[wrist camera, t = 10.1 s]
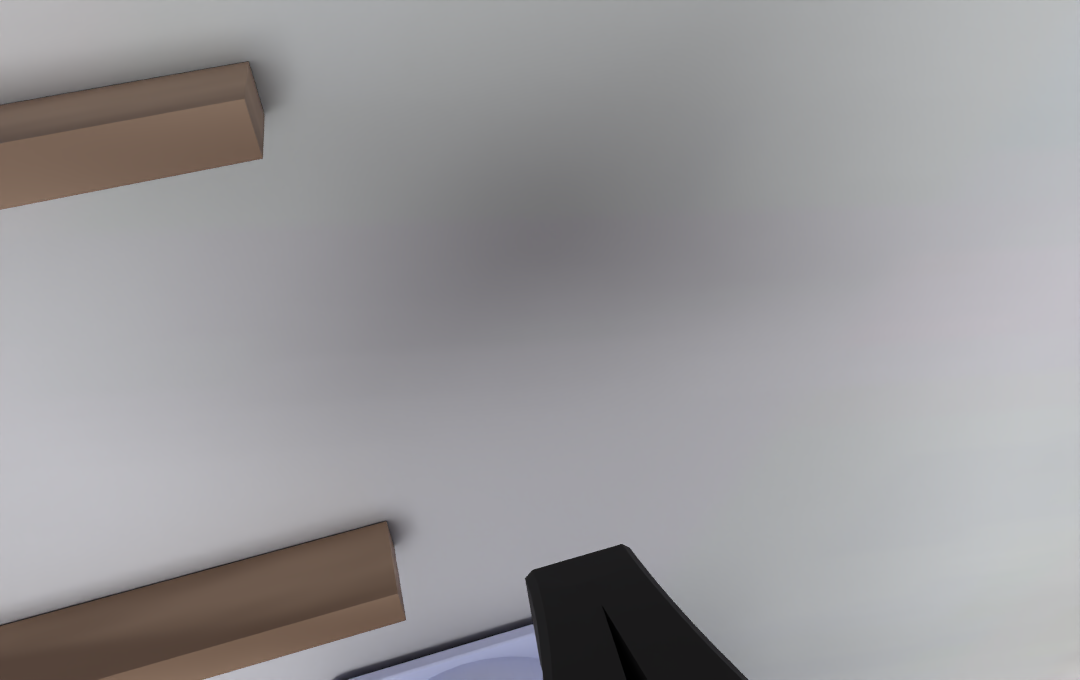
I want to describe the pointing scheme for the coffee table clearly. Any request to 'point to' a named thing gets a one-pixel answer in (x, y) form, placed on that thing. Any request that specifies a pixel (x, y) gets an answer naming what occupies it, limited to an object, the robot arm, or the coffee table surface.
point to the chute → (230, 590)
